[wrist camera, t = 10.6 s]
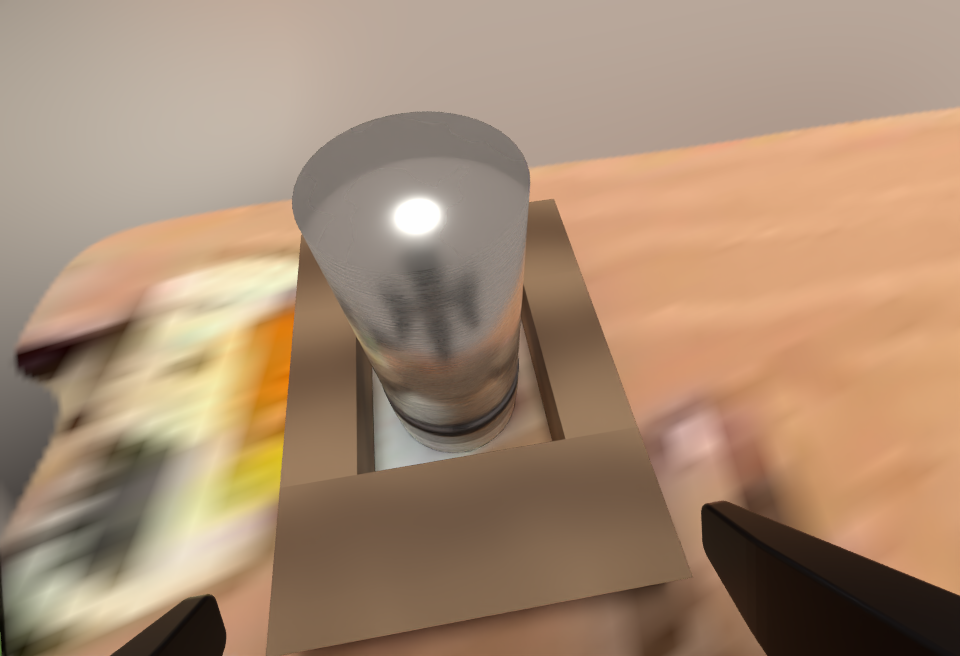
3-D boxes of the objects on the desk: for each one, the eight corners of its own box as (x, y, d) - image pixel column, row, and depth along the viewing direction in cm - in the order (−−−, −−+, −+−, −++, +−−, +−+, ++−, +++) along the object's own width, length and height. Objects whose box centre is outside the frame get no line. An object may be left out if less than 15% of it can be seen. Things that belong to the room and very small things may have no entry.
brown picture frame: (665, 581, 15) (692, 577, 13) (301, 650, 14) (265, 658, 12) (549, 236, 23) (553, 198, 21) (319, 269, 23) (301, 234, 20)
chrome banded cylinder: (538, 420, 18) (579, 216, 9) (421, 476, 17) (323, 313, 8) (484, 325, 20) (471, 89, 11) (379, 369, 19) (268, 149, 10)
